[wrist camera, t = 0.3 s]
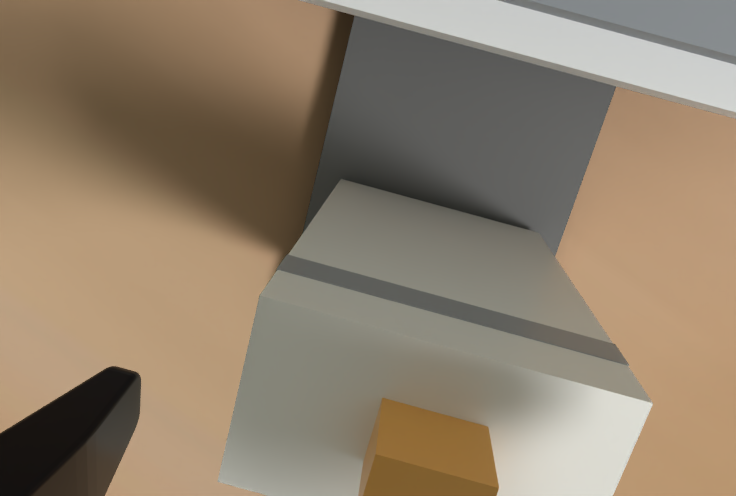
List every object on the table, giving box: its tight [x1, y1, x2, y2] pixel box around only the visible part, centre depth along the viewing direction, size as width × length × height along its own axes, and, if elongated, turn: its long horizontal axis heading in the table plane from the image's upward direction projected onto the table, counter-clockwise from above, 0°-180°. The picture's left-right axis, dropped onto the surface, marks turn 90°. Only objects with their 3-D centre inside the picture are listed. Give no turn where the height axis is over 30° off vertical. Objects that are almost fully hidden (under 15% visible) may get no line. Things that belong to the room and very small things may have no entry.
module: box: [218, 179, 653, 496], centre depth 17 cm, size 4×7×14 cm, turn 75°
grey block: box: [300, 0, 736, 256], centre depth 20 cm, size 14×20×9 cm
